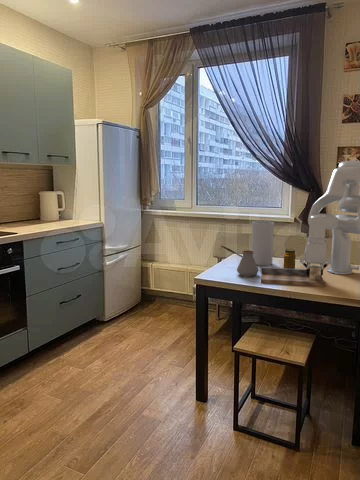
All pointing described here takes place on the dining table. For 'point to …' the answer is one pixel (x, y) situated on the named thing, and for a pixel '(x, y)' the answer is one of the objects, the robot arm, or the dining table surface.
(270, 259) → the cylinder vase
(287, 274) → the board
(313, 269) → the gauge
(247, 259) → the coffee pot
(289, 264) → the condiment
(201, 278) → the dining table surface
